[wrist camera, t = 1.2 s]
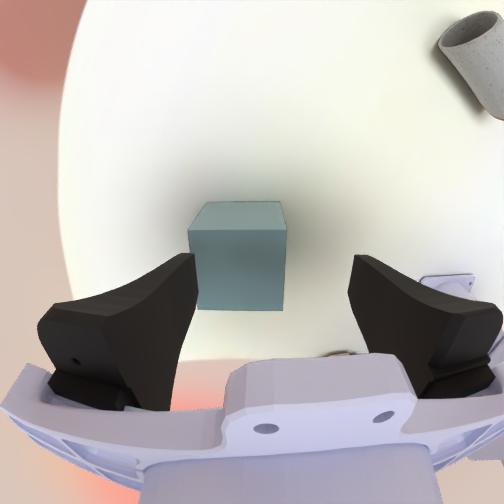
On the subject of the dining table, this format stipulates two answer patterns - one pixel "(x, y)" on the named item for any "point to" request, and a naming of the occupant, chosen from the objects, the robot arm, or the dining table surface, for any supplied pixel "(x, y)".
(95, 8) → the dining table surface
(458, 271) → the dining table surface
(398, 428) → the robot arm
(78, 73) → the dining table surface
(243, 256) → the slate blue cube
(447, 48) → the ceramic mug
